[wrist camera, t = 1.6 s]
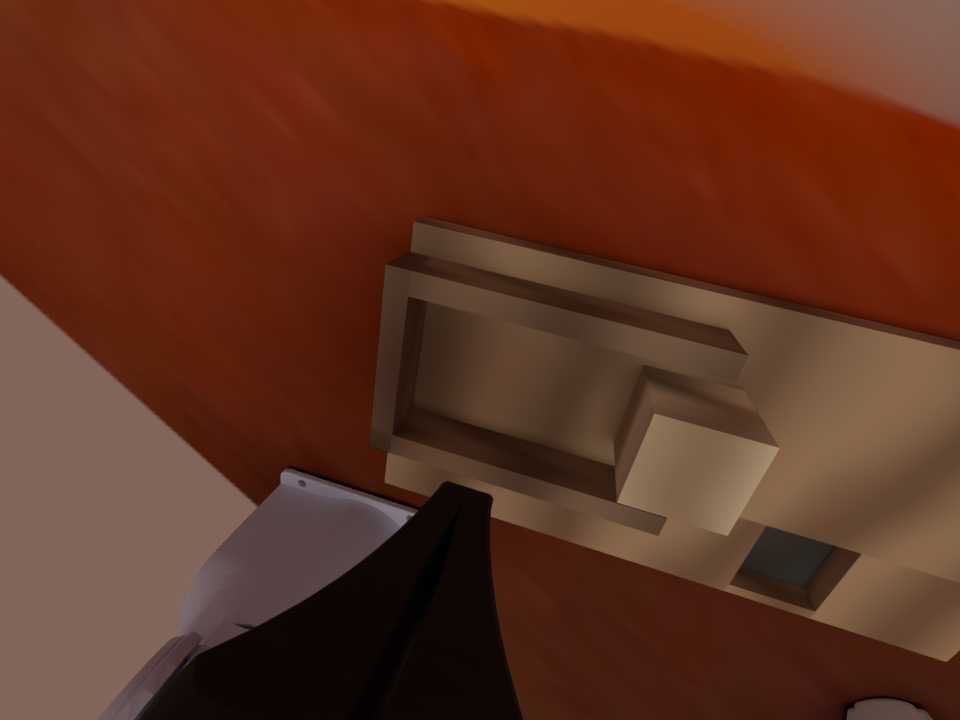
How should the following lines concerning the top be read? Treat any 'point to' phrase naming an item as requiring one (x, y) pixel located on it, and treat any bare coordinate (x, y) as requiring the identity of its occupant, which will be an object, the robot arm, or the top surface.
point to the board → (780, 403)
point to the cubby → (538, 309)
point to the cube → (690, 450)
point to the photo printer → (885, 710)
